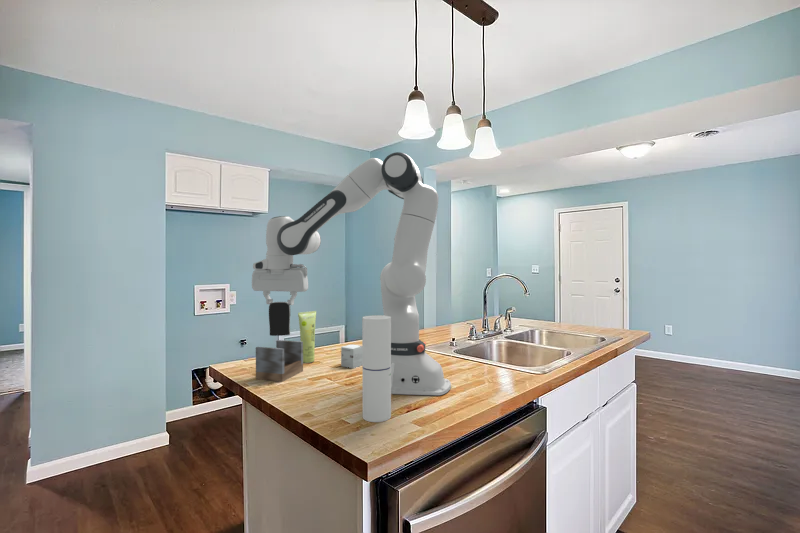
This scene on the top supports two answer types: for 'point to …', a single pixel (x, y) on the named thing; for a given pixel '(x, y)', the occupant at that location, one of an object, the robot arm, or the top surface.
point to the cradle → (279, 361)
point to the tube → (307, 334)
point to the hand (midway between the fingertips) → (280, 304)
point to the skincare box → (351, 356)
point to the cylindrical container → (376, 367)
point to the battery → (279, 318)
